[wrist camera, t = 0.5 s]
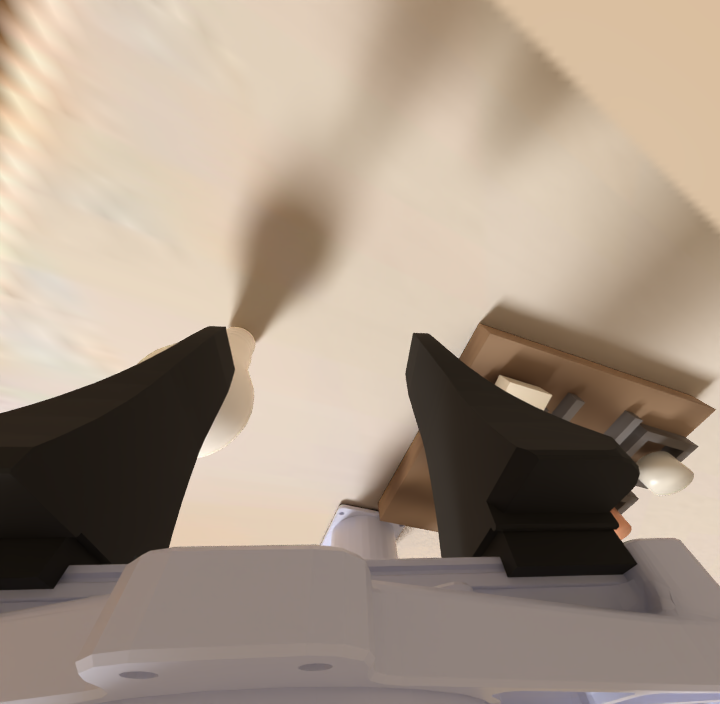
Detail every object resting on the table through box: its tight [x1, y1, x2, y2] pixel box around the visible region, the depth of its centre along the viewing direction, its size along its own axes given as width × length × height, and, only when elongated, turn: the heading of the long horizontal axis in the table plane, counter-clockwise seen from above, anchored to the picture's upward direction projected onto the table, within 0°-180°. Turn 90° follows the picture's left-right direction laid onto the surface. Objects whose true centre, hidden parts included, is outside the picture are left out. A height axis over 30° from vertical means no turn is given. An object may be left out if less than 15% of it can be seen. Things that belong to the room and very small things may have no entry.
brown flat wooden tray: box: [378, 323, 716, 532], centre depth 28 cm, size 22×22×4 cm
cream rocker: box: [495, 375, 552, 411], centre depth 22 cm, size 5×4×1 cm
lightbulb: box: [138, 327, 255, 458], centre depth 18 cm, size 6×6×11 cm
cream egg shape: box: [636, 451, 694, 496], centre depth 25 cm, size 3×3×2 cm
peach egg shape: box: [610, 507, 631, 540], centre depth 28 cm, size 3×3×2 cm
